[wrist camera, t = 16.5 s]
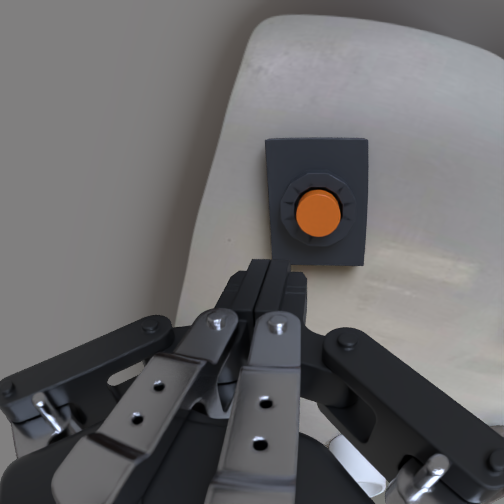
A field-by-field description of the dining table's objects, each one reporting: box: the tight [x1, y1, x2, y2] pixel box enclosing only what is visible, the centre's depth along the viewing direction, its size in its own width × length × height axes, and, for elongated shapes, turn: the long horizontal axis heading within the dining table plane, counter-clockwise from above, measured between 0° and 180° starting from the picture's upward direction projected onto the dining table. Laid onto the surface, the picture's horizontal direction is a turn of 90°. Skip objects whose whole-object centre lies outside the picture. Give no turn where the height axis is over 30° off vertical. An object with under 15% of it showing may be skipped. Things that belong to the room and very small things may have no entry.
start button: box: [296, 190, 340, 237], centre depth 25 cm, size 4×4×2 cm
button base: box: [265, 138, 368, 266], centre depth 27 cm, size 12×9×4 cm
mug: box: [329, 434, 386, 498], centre depth 40 cm, size 13×10×10 cm
